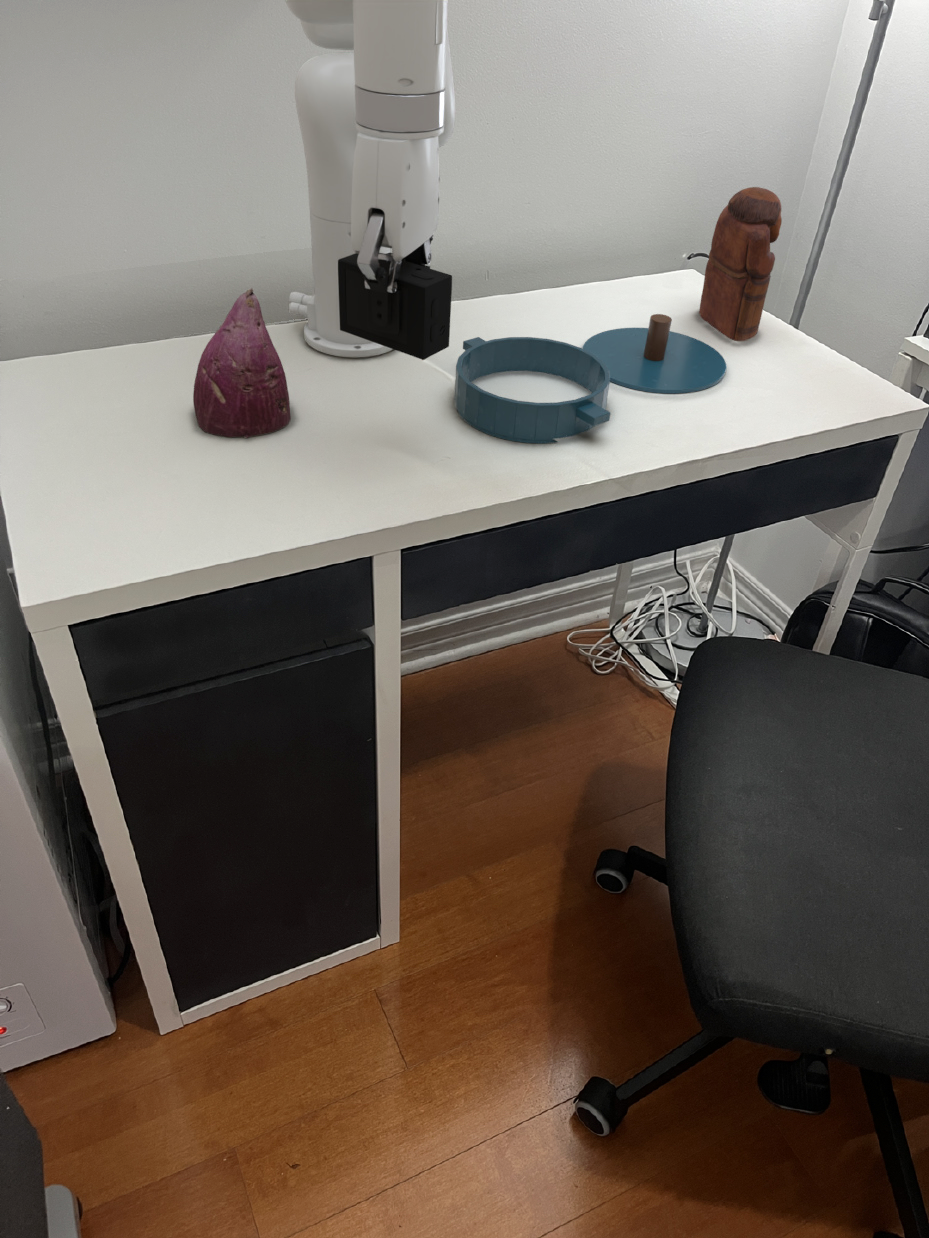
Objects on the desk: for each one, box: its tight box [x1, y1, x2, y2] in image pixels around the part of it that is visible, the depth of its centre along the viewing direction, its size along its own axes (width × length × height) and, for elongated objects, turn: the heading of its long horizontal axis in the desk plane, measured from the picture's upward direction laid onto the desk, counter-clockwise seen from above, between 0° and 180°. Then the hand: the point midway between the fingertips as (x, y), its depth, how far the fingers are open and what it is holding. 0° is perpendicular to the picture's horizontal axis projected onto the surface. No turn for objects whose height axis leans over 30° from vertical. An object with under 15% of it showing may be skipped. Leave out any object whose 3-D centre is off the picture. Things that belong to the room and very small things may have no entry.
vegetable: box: [192, 287, 292, 439], centre depth 101 cm, size 10×10×15 cm
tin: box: [453, 336, 611, 444], centre depth 107 cm, size 17×23×5 cm
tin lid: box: [581, 313, 727, 394], centre depth 117 cm, size 18×18×6 cm
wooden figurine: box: [698, 186, 783, 342], centre depth 124 cm, size 12×6×18 cm, turn 19°
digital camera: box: [338, 252, 453, 361], centre depth 90 cm, size 10×5×7 cm, turn 55°
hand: (399, 316), depth 91 cm, fingers closed on digital camera, 6 cm apart
